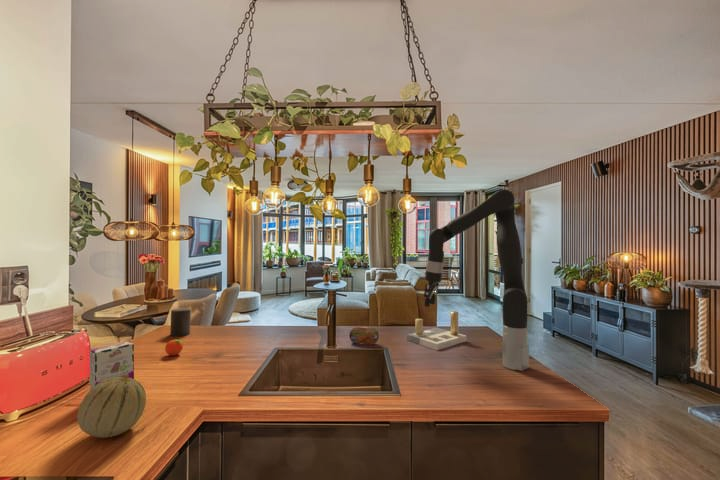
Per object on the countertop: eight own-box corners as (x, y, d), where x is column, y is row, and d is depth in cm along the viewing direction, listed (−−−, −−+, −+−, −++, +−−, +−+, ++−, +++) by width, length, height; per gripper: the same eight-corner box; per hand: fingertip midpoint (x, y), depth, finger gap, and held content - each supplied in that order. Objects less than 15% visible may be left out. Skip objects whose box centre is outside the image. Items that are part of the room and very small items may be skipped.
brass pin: (459, 334, 174) (459, 312, 174) (455, 336, 172) (455, 313, 172) (453, 333, 178) (453, 310, 178) (448, 334, 175) (449, 311, 175)
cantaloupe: (63, 442, 84) (64, 384, 84) (123, 414, 98) (123, 364, 98) (101, 456, 79) (102, 394, 79) (158, 424, 92) (159, 371, 92)
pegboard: (466, 341, 173) (466, 320, 173) (436, 350, 158) (437, 327, 158) (436, 332, 189) (436, 313, 189) (406, 340, 174) (407, 319, 174)
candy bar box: (127, 387, 115) (128, 340, 116) (134, 390, 113) (135, 343, 113) (88, 400, 106) (89, 349, 106) (94, 404, 103) (95, 352, 103)
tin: (349, 343, 167) (349, 327, 167) (350, 341, 171) (350, 325, 171) (378, 345, 165) (378, 328, 165) (379, 343, 168) (379, 327, 168)
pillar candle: (176, 337, 175) (177, 309, 175) (166, 334, 180) (167, 307, 180) (194, 333, 183) (194, 306, 183) (183, 330, 188) (184, 304, 188)
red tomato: (188, 353, 151) (188, 337, 151) (178, 358, 144) (178, 342, 144) (171, 352, 152) (172, 336, 152) (161, 357, 145) (161, 341, 145)
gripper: (437, 273, 145) (433, 309, 146) (445, 271, 158) (441, 304, 158) (421, 270, 149) (417, 305, 149) (430, 269, 161) (426, 301, 162)
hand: (429, 305), depth 154 cm, fingers open, 8 cm apart
